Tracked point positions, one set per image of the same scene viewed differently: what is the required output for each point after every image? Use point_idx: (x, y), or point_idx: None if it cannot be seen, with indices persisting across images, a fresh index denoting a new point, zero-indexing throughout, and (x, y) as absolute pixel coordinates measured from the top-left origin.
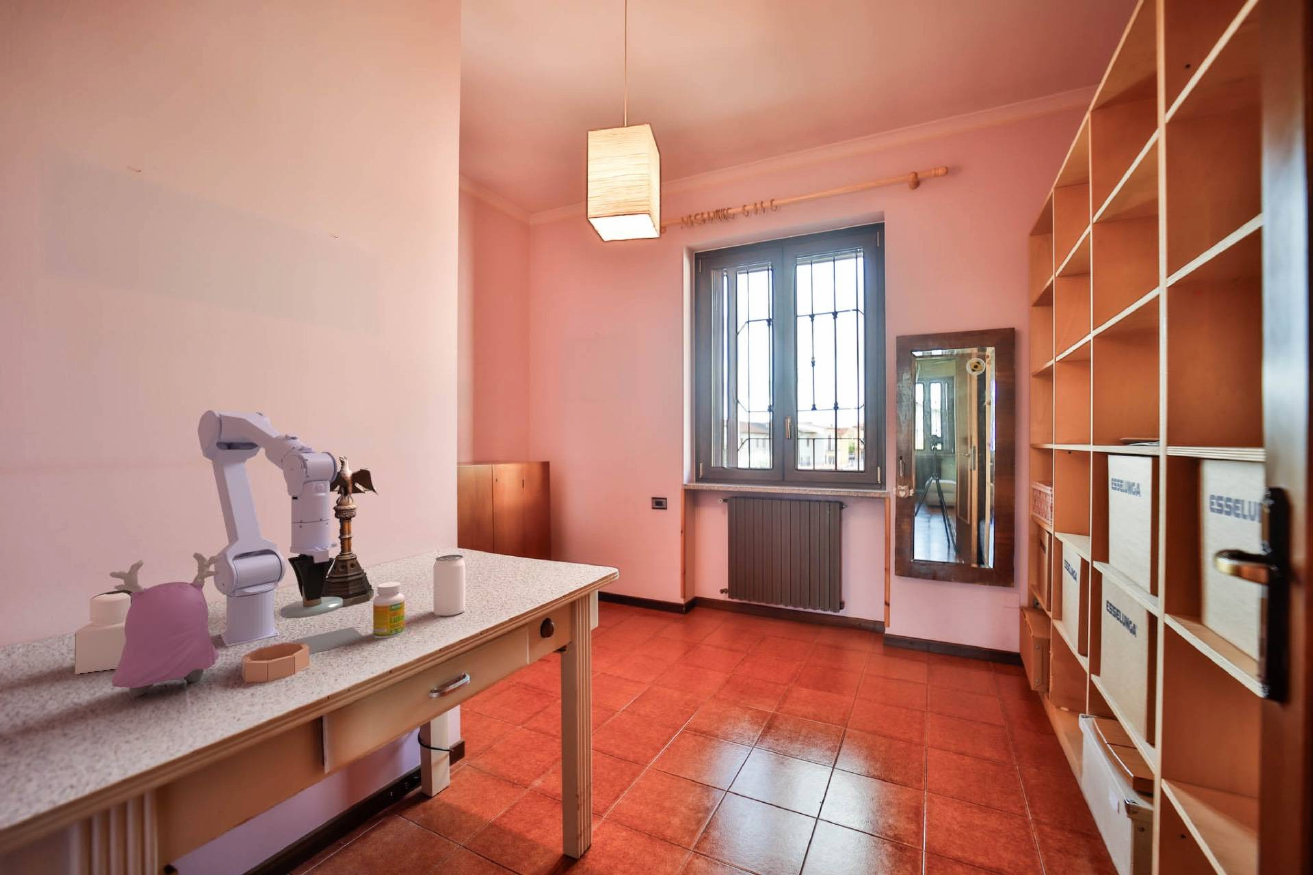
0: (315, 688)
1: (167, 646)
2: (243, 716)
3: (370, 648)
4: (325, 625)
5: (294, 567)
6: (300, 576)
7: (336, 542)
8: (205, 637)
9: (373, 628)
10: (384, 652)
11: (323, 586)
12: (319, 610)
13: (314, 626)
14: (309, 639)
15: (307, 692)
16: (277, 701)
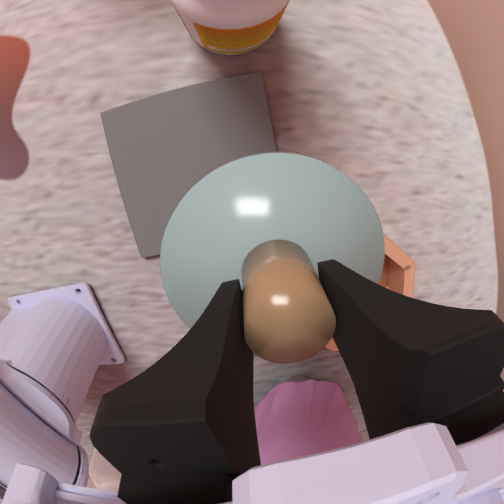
0: (468, 212)
1: None
2: (476, 296)
3: (324, 75)
4: (39, 186)
5: (259, 464)
6: (250, 402)
7: (408, 499)
8: (331, 430)
9: (234, 50)
10: (377, 56)
11: (361, 276)
12: (382, 247)
13: (36, 211)
14: (155, 219)
15: (472, 224)
16: (469, 262)
